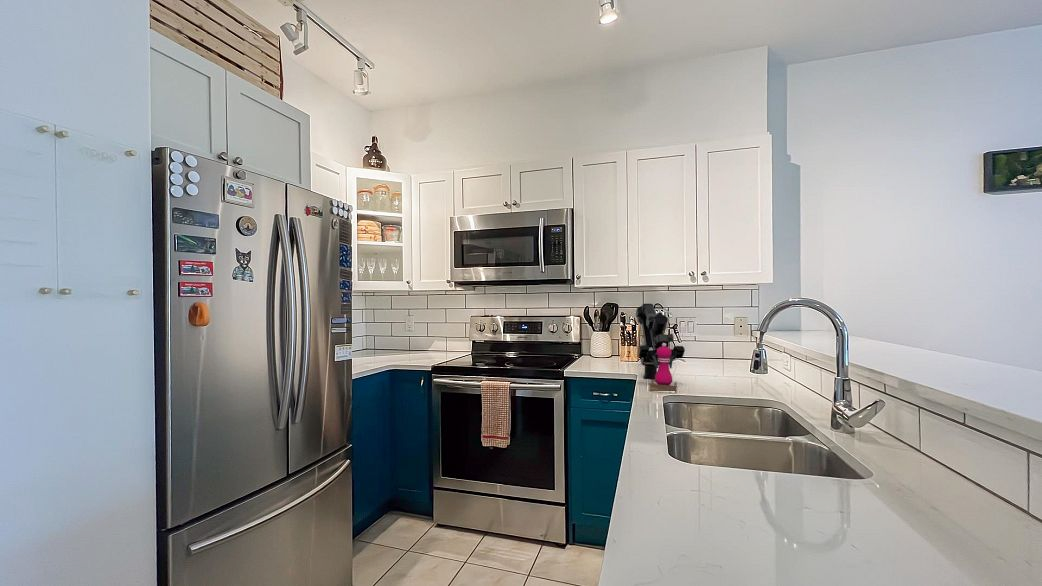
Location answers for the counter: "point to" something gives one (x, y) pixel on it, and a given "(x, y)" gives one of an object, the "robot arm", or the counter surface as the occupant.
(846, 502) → the counter surface
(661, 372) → the pepper mill
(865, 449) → the counter surface
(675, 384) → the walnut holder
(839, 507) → the counter surface
